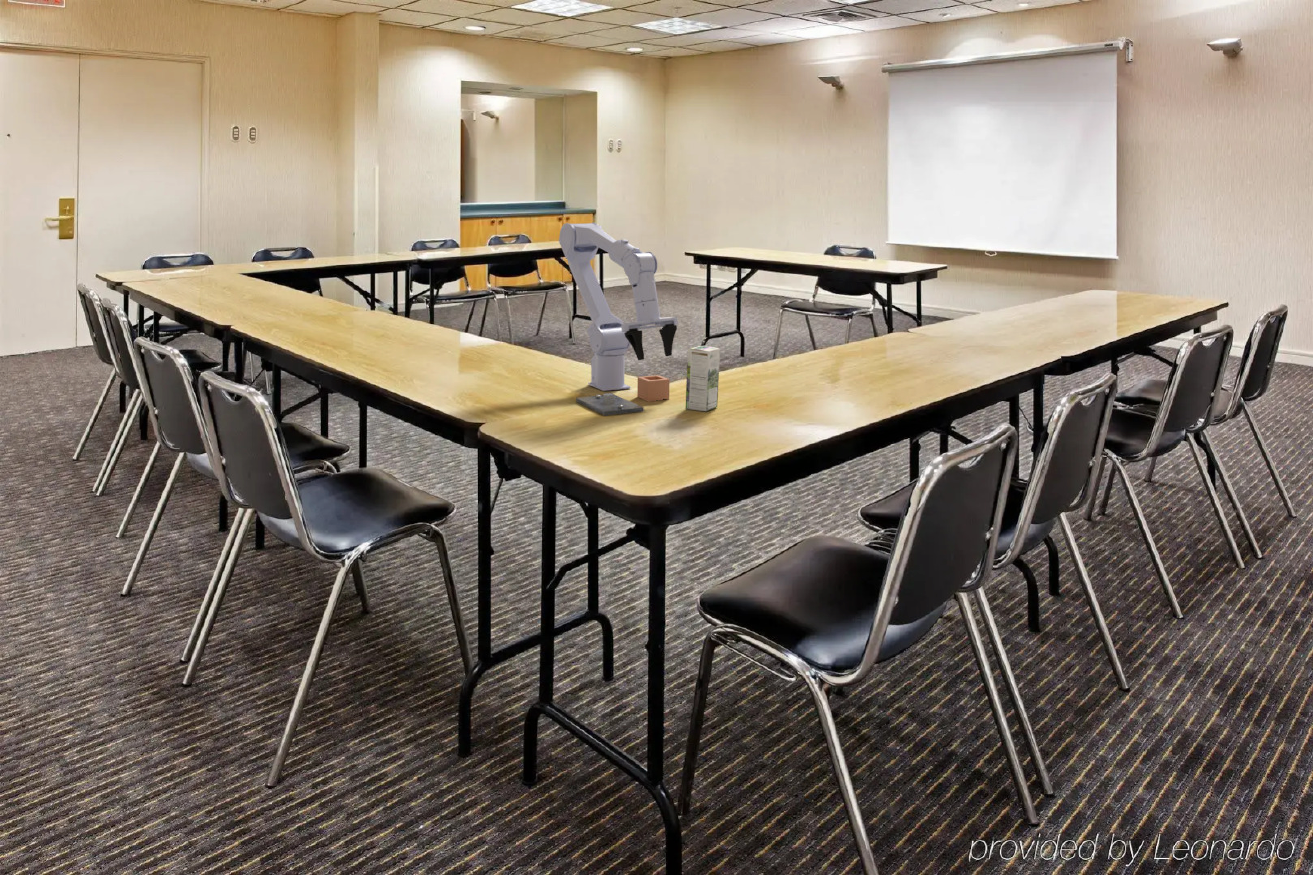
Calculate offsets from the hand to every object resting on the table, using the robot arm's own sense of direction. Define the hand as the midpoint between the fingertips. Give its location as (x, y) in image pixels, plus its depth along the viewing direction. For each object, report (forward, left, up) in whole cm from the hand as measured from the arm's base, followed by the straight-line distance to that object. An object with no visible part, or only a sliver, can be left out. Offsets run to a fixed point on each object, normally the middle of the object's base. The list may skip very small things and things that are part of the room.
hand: (655, 357), depth 238 cm
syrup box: (+14, +5, -10) cm, 18 cm away
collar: (-1, 0, -10) cm, 10 cm away
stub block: (+3, -14, -10) cm, 17 cm away
